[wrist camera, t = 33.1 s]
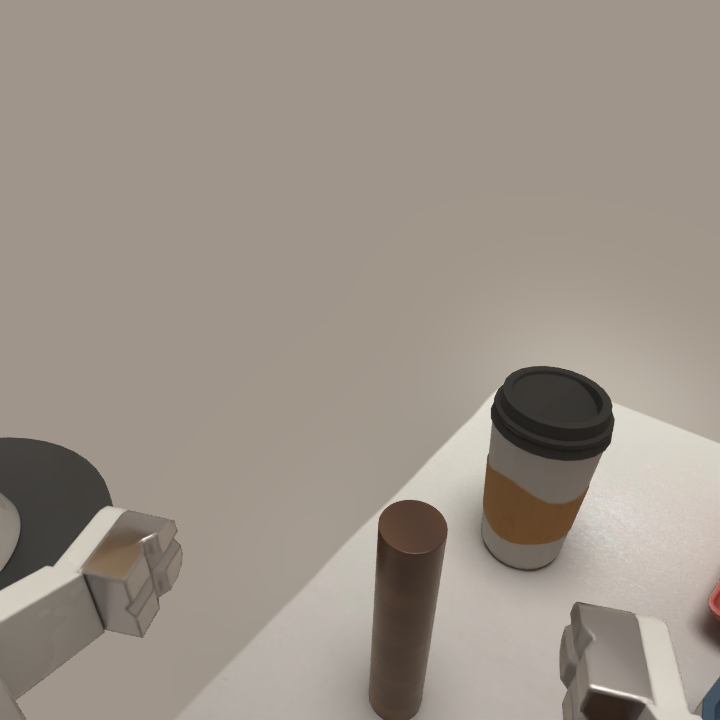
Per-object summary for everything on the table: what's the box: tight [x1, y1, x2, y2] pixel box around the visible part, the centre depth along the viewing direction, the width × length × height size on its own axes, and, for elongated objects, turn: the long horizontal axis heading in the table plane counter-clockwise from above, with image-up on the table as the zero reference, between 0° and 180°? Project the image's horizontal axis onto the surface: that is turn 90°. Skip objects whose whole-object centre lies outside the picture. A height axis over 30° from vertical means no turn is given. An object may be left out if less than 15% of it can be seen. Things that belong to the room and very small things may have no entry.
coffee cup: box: [482, 366, 615, 570], centre depth 43 cm, size 8×8×15 cm
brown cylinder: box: [369, 500, 448, 720], centre depth 32 cm, size 3×3×16 cm
